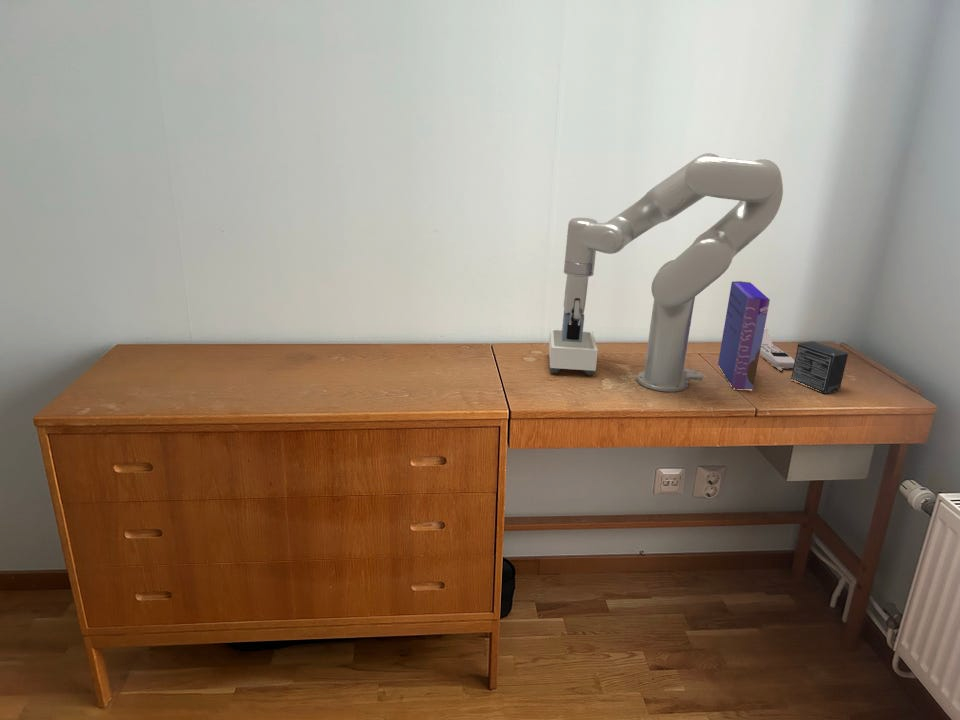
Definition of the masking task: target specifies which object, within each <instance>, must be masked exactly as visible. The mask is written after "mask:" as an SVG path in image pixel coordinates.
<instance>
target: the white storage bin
mask: <svg viewBox="0 0 960 720" xmlns="http://www.w3.org/2000/svg"><path fill="white" fill-rule="evenodd" d="M598 351H599V349H598V346H597V342H596V338H595V335H594V331H588V330H583V334H582V342H568V341H562V329H555V328H550V329H549V342H548V356H549V368H550V370H551V371H550V372H551V373H553V374H558V373H559V372H560V371H561V369H562V370H563V369H564V370H576V371H578V370H580V371H583V372H584V374H585V375H586V376H592V375H593V374H594V372H596V370H597V362H598V360H597V359H598Z"/></svg>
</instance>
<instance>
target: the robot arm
mask: <svg viewBox="0 0 960 720" xmlns="http://www.w3.org/2000/svg"><path fill="white" fill-rule="evenodd" d="M783 195H784V188H783V176H782V172H781V170H780V168H779V166H778V165H777V164H776V163H775V162H773V161H771V160H769V159H765V158H764V159H757V160H747V159H746V160H745V159H737V158H736V159H735V158H728V157H721V156H719V155H717V154H714V153H711V152H709V153H703V154H700V155H698V156H697V157H695V158H693V160H691V161H689V162H688V163H687V164H685V165H684V166H683V167H681V168H680V169H677V171H675V172H674V173H673V174H671V175H670V176H668V177H667V178H665V179H664V180H662V181H661V182H659V183H658V184H656V185H655V186H653V187H652V188H651V189H649V191H647V192H646V193H645V194H644V195H643V197H641V198H640V199H639V200H637V201H636V202H635V203H633V204H631V205H630V206H629V207H628V208H626V209H624V210H623V211H622V212H620V213H619V214H617V215H616V216H614V217H612V218H611V219H610V220H608V221H606V222H598V221H597V220H596V219H594V218H588V217H573V218H571V219H570V220H569V221H568V223H567V224H568V225H567V232H566V233H567V235H566V245H565V255H564V264H563V265H564V267H563V273H564V274H565V275H566V281H565V290H564V298H563V312H564V311H565V313H566V314H567V312H568V313H570V317H569V324H568V328H567V339H569V340H579V335H580V318H581V315H582V314H583V313H584V314H585V310H586V309H585V308H586V301H587V296H588V295H587V294H588V285H589V277H592V276H594V272H595V262H596V255H597V252H600V253H603V254H608V255H613V254H616V253H619V252H621V251H622V250H623V249H624V248H625V247H626V246H627V245H628V244H630V243H631V242H632V241H634V240H635V239H637V238H639V237H640V236H642V235H643V234H644V233H646V232H647V231H649V230H651V229H653V228H654V227H656V226H657V225H659V224H662V223H665V222H668V221H670V220H672V219H673V218H674V217H676V216H678V215H679V214H681V213H682V212H684V211H685V210H687V209H688V208H689V207H692V206H693V205H694V204H696V203H697V202H699V201H700V200H702V199H703V198H706V197H711V198H718V199H724V200H732V201H739V202H738V203H737V204H736V205H735V206H734V207H732V208H731V209H730V210H729V211H728V212H727V213H726V214H725V215H724V216H723V217H722V218H720V219H719V220H718V221H717V222H716V223H715V224H714V225H712V226H711V227H710V228H708V229H707V230H706V231H704V232H703V233H701V234H699V235H698V236H697V237H696V238H695V240H693V243H692V244H691V245H689V246H688V247H687V248H686V249H685V250H684V251H683V252H681V253H680V255H678V256H677V257H676V258H674V259H672V260H669V261H666V262H665V263H664V264H663V265H662V266H661V267H660V268H659V270H657V273H656V274H655V276H654V277H653V279H652V283H651V287H650V288H651V295H652V298H653V304H652V310H651V311H652V312H651V316H650V317H651V318H650V319H651V320H650V325H649V333H648V340H647V341H648V342H647V349H646V356H645V364H644V370H643V371H640V372H639V373H638V374H637V376H636V378H637V382H638V383H639V385H641V386H643V387H645V388H648V389H651V390H653V391H659V392H668V393H670V392H681V391H684V390H686V389H687V388H688V386H689V381H690V380H695V381H702V380H703V372H696V370H695V369H686V367H685V364H686V357H687V352H688V351H687V350H688V343H689V337H690V330H691V323H692V318H693V317H692V316H693V311H694V305H695V301H696V300H695V299H696V297H697V296H698V295H700V293H701V292H703V291H704V290H705V289H706V288H708V287H709V286H710V285H711V284H713V283H714V282H715V281H716V280H718V279H719V278H720V277H721V276H722V275H723V274H725V273H726V271H727V270H728V269H729V267H730V266H731V264H732V261H733V259H734V257H735V256H737V254H738V253H740V252H741V251H743V249H744V248H746V247H747V246H748V245H749V244H751V243H752V242H753V241H754V240H755V239H756V238H757V237H758V236H760V235H761V233H763V232H764V231H765V230H766V229H767V228H768V227H769V225H770V224H771V223H772V222H773V220H774V219H775V218H776V215H777V214H778V212H779V210H780V207H781V204H782V201H783ZM572 311H574V313H572ZM572 315H574V316H573V317H572Z"/></svg>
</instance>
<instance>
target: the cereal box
mask: <svg viewBox="0 0 960 720" xmlns="http://www.w3.org/2000/svg"><path fill="white" fill-rule="evenodd" d="M770 302H771V299H770V298H769V297H767V295H765V294H764V293H763V292H762V291H761V290H760V289H758V288H757V287H756V286H755V285H754V284H753V283H752V282H750V281H742V280H737V281H731V284H730V291H729V297H728V301H727V308H726V314H725V320H724V326H723V332H722V333H723V334H722V338H721V343H720V344H721V345H720V350H719V355H718V363H717V364H718V365H719V366H720V368H721V369H722V371H723V373H724V374H725V376H726V378H727V379H728V381H729V382H730V383H731V385H732V387H733V388H735V389H753V390H754V386H755V382H756V381H755V380H756V374H757V370H758V364H759V360H760V356H759V355H760V349H761V344H762V339H763V334H764V328H765V326H766V323H767V317H768V312H769V306H770ZM718 365H717V366H718ZM723 373H722V374H723ZM726 378H725V379H726ZM728 381H727V382H728ZM732 387H731V388H732Z"/></svg>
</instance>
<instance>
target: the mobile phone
mask: <svg viewBox="0 0 960 720" xmlns="http://www.w3.org/2000/svg"><path fill="white" fill-rule="evenodd" d="M760 354H761V355H762V356H764V357H765V358H766V359H767V360H768V361H769V362H771V363H772V364H773V365H774V366H775V367H777V368H779V369H780V370H783V371H784V369H789V368H793V367H794V362H795V358H792V356H791V355H789V354H788V353H787V352H785V351H783V350H782V349H780V348H778V347H777V346H776V345H775V344H773V342H772V339H771V336H770V333H769V329H768V328H766V329H764V334H763V339H762V344H761V349H760ZM781 367H785V368H781ZM786 367H787V368H786Z"/></svg>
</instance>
